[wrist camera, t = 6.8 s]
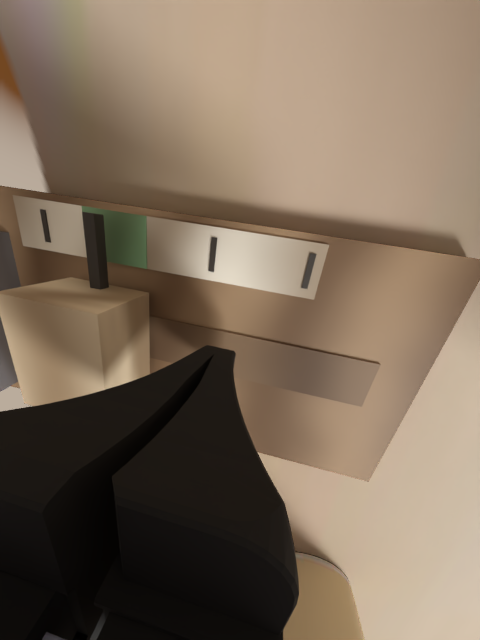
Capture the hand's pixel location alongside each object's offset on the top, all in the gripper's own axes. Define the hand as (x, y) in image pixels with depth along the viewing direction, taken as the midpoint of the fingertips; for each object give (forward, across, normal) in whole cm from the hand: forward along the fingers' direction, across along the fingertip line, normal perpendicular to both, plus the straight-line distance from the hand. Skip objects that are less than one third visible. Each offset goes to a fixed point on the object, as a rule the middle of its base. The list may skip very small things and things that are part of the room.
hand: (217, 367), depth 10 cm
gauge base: (+2, +3, 0) cm, 4 cm away
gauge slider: (+1, +6, -2) cm, 6 cm away
